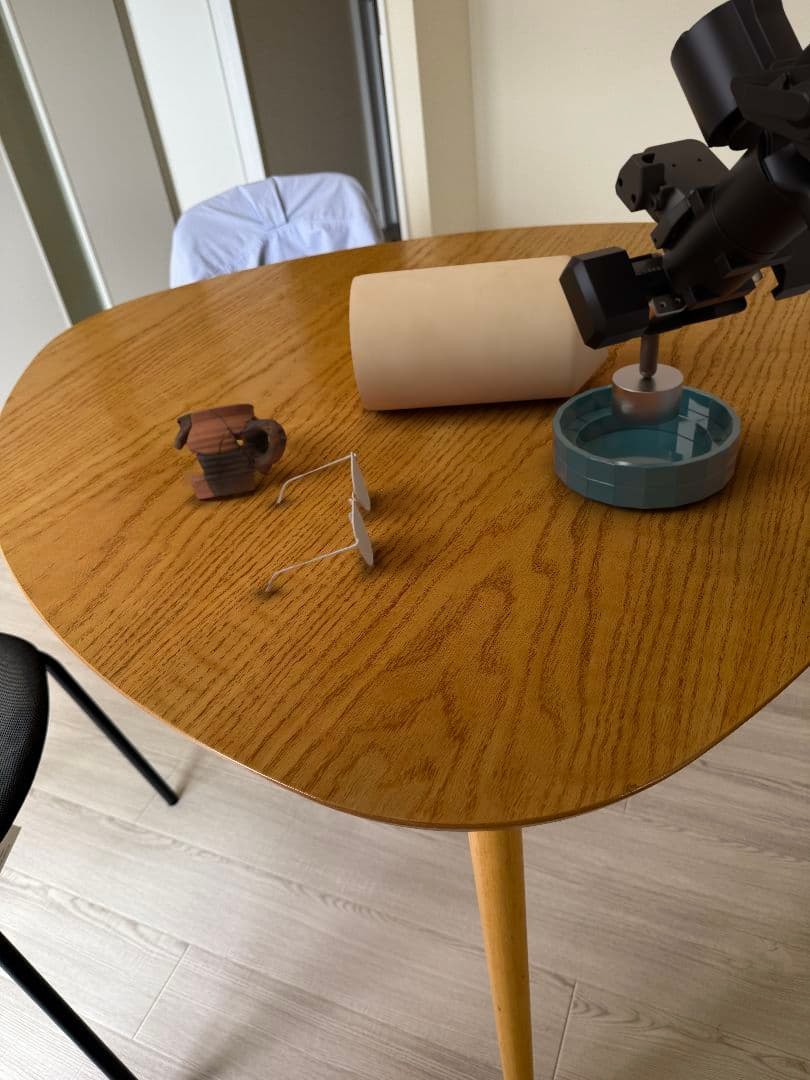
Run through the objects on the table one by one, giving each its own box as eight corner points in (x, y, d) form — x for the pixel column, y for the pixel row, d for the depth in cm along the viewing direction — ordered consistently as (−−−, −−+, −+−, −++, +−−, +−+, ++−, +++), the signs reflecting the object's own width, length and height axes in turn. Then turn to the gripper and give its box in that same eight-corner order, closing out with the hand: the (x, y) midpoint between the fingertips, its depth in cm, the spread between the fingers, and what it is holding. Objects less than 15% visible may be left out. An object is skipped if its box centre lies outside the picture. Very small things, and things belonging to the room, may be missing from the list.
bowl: (772, 466, 66) (781, 419, 64) (645, 537, 61) (649, 489, 58) (637, 409, 77) (640, 367, 75) (518, 465, 71) (517, 421, 69)
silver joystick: (676, 427, 63) (692, 264, 55) (606, 423, 65) (611, 264, 57) (683, 396, 67) (698, 240, 59) (616, 393, 69) (622, 242, 61)
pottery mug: (166, 508, 73) (146, 421, 73) (226, 497, 82) (208, 419, 81) (273, 485, 68) (252, 392, 68) (324, 475, 77) (306, 393, 76)
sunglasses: (374, 582, 60) (354, 531, 57) (272, 609, 61) (247, 561, 58) (369, 487, 71) (352, 441, 68) (282, 511, 72) (262, 467, 69)
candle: (358, 254, 82) (601, 230, 79) (376, 372, 91) (596, 354, 88) (341, 310, 72) (620, 285, 68) (364, 436, 80) (612, 420, 77)
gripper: (826, 76, 51) (701, 219, 66) (574, 126, 47) (501, 266, 62) (897, 225, 49) (752, 337, 65) (641, 289, 45) (550, 393, 61)
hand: (640, 330), depth 63 cm, fingers closed on silver joystick
